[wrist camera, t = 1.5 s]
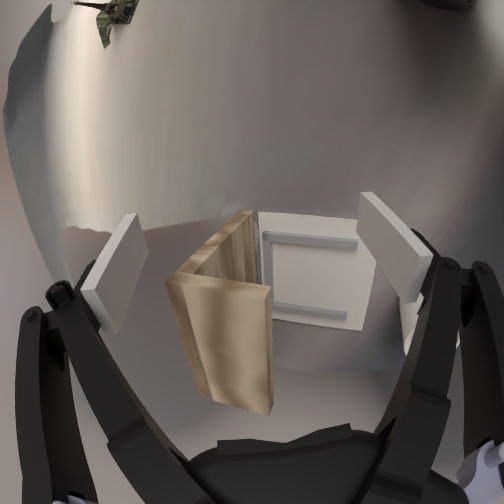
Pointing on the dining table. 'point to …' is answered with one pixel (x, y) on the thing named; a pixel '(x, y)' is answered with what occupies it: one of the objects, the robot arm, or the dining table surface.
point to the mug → (411, 321)
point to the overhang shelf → (226, 318)
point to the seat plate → (315, 269)
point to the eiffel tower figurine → (112, 15)
